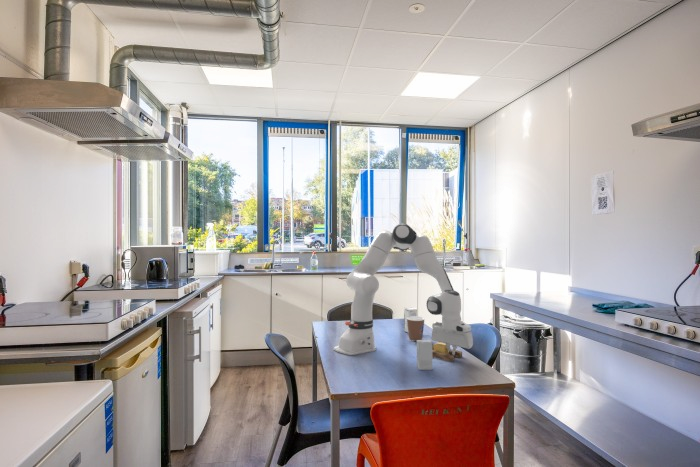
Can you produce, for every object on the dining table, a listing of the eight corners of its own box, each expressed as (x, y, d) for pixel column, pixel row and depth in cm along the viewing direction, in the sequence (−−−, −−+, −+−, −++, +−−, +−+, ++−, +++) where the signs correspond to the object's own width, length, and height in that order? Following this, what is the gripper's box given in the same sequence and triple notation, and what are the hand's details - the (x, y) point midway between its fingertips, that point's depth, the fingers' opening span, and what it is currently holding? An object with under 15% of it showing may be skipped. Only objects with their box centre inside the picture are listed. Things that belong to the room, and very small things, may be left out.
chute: (462, 356, 176) (462, 350, 176) (451, 361, 169) (451, 355, 169) (431, 349, 188) (431, 343, 188) (419, 353, 181) (419, 347, 181)
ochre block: (449, 355, 178) (450, 344, 178) (444, 357, 174) (444, 347, 174) (439, 352, 182) (439, 342, 182) (433, 354, 179) (433, 344, 179)
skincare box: (429, 366, 163) (429, 339, 163) (432, 370, 158) (433, 342, 158) (416, 366, 162) (416, 339, 162) (418, 370, 158) (419, 342, 158)
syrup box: (411, 330, 227) (412, 306, 227) (416, 332, 221) (417, 308, 222) (403, 331, 225) (403, 307, 225) (408, 333, 219) (408, 309, 219)
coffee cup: (424, 342, 200) (425, 320, 200) (405, 341, 202) (406, 319, 202) (424, 337, 210) (425, 316, 210) (406, 336, 212) (406, 315, 212)
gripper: (429, 322, 180) (428, 350, 179) (468, 329, 165) (468, 360, 165) (435, 320, 184) (435, 347, 184) (474, 327, 170) (474, 357, 170)
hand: (451, 353), depth 174 cm, fingers closed
